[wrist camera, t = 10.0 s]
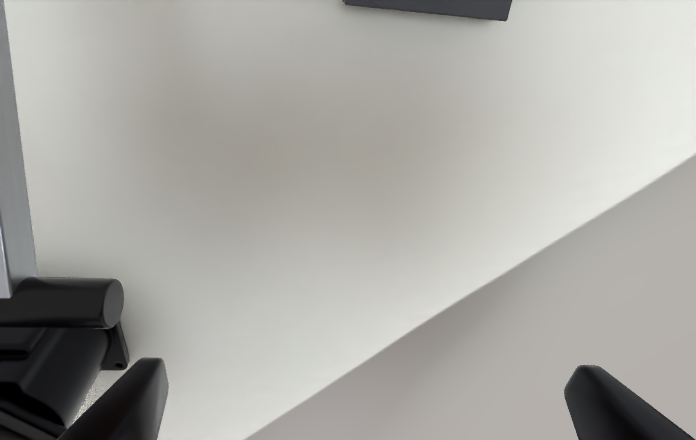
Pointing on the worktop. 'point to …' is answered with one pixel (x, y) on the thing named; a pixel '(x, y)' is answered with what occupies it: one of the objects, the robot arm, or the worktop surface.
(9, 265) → the lever
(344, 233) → the worktop surface
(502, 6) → the control block
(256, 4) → the worktop surface
